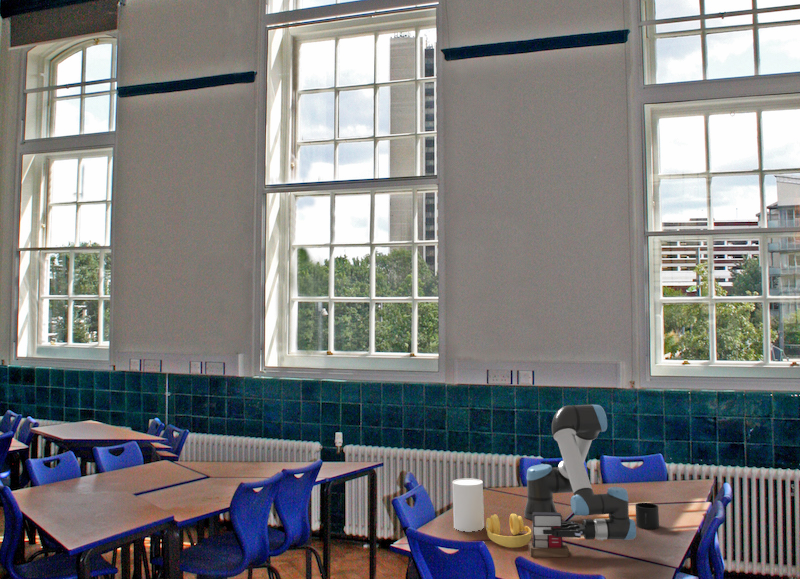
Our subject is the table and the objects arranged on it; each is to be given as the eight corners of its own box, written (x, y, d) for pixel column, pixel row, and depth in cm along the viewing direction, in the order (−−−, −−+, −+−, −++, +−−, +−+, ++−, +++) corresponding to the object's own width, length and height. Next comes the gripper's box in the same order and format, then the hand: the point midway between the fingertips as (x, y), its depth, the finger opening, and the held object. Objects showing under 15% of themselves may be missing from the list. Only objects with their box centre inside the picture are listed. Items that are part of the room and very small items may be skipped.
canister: (487, 530, 284) (486, 484, 285) (458, 532, 281) (456, 486, 283) (479, 521, 297) (477, 477, 298) (450, 523, 295) (449, 479, 296)
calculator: (534, 554, 252) (533, 515, 253) (533, 550, 256) (532, 512, 257) (563, 555, 251) (562, 515, 252) (561, 551, 255) (560, 512, 256)
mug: (634, 529, 280) (633, 508, 280) (637, 522, 291) (636, 501, 291) (658, 532, 276) (657, 510, 277) (659, 524, 287) (658, 503, 287)
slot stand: (528, 549, 257) (528, 542, 258) (565, 550, 256) (565, 542, 257) (531, 556, 250) (530, 548, 250) (568, 556, 249) (568, 548, 249)
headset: (494, 549, 260) (493, 525, 261) (482, 534, 281) (481, 512, 282) (537, 546, 262) (536, 523, 262) (522, 532, 282) (521, 510, 283)
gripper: (599, 546, 244) (536, 546, 245) (589, 532, 261) (531, 532, 262) (598, 526, 244) (536, 526, 246) (589, 513, 261) (530, 513, 263)
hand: (533, 529), depth 254 cm, fingers closed on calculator, 4 cm apart
